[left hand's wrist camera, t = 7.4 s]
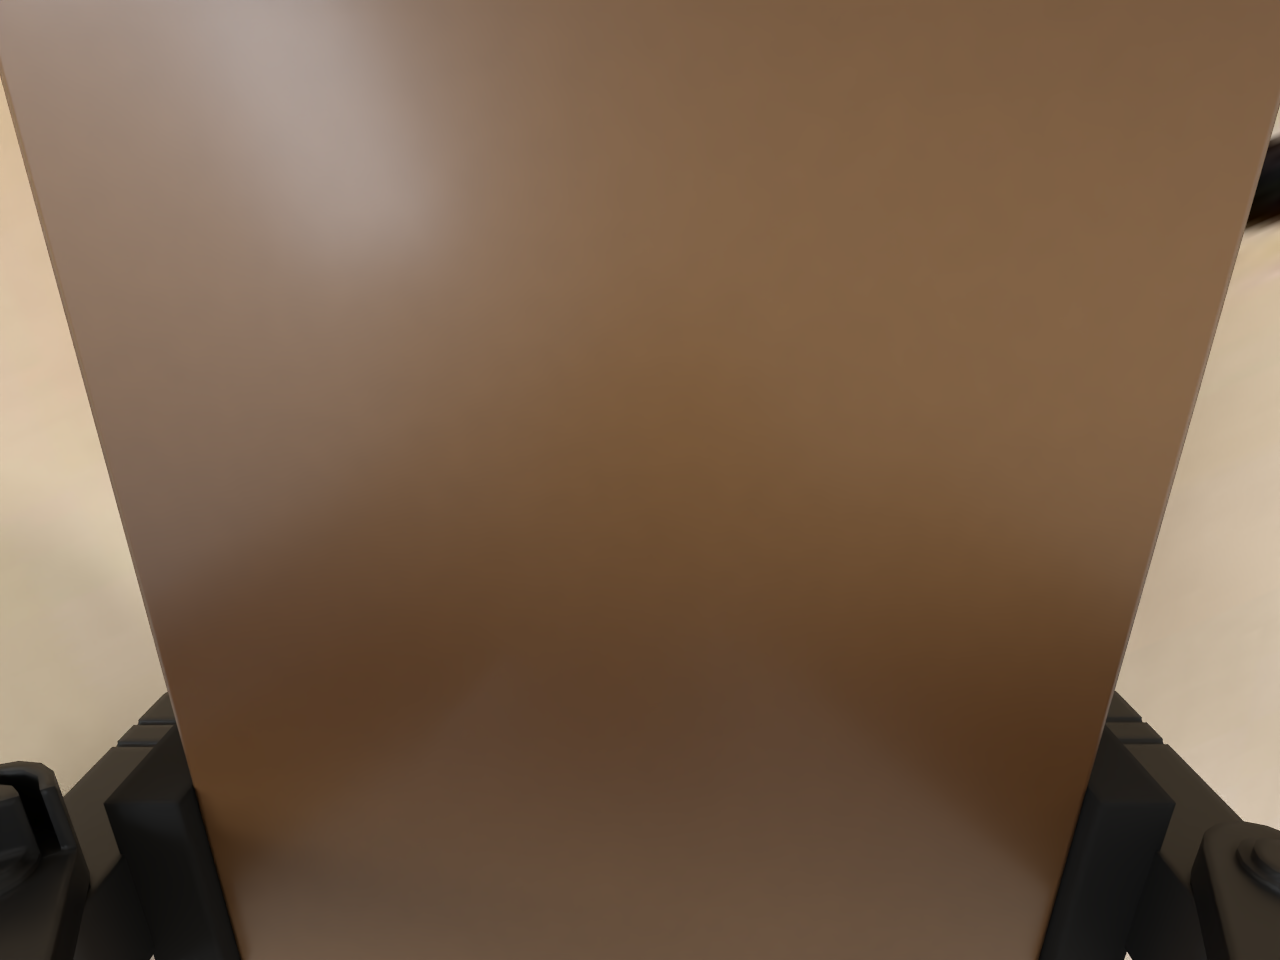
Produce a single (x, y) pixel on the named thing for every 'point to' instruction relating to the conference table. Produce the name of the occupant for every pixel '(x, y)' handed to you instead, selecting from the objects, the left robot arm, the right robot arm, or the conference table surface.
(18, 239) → the conference table surface
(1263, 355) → the conference table surface
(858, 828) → the brown wooden beam
